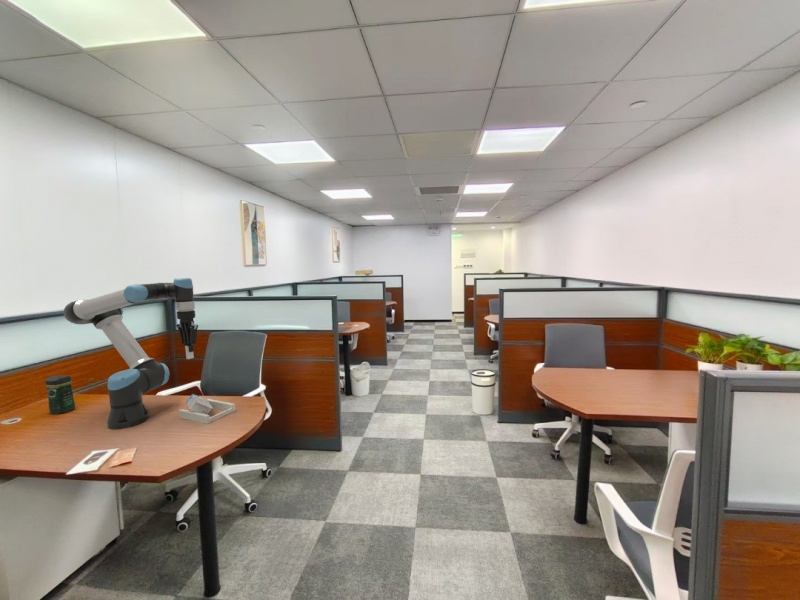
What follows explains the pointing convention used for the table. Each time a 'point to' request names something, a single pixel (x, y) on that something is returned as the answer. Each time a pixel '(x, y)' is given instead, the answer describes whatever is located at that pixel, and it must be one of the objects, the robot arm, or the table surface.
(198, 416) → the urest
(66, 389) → the coffee jar
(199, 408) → the ink box
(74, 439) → the table surface
